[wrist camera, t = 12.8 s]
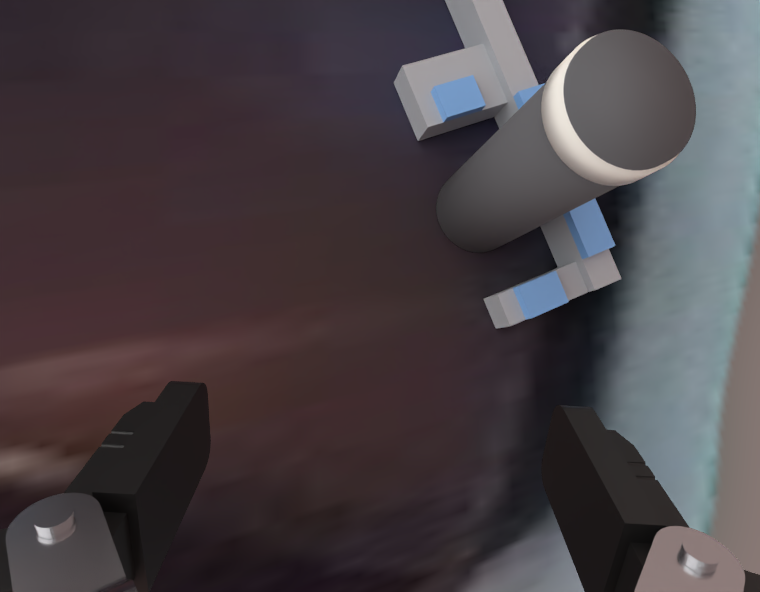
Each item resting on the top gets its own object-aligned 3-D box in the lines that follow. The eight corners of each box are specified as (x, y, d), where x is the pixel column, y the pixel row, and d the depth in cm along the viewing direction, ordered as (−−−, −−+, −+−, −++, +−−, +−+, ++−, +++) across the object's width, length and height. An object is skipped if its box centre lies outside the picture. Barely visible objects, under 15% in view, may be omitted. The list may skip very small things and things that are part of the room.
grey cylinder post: (420, 183, 25) (542, 45, 14) (496, 158, 26) (662, 12, 15) (455, 267, 25) (604, 189, 14) (530, 237, 26) (721, 145, 15)
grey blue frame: (318, -97, 26) (325, -146, 23) (424, -116, 27) (440, -164, 25) (495, 328, 25) (521, 324, 22) (594, 285, 26) (628, 276, 24)
